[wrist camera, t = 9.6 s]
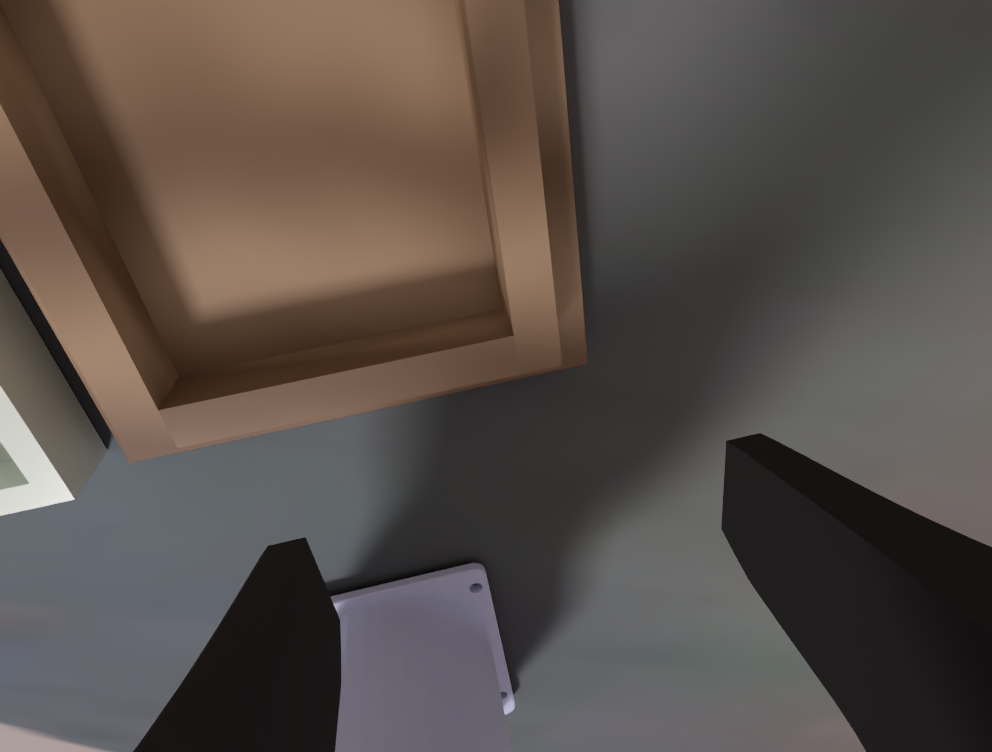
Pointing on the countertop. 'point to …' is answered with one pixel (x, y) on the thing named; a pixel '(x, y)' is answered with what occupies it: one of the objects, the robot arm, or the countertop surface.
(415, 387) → the tray
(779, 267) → the countertop surface
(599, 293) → the countertop surface
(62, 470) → the tray
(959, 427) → the countertop surface
